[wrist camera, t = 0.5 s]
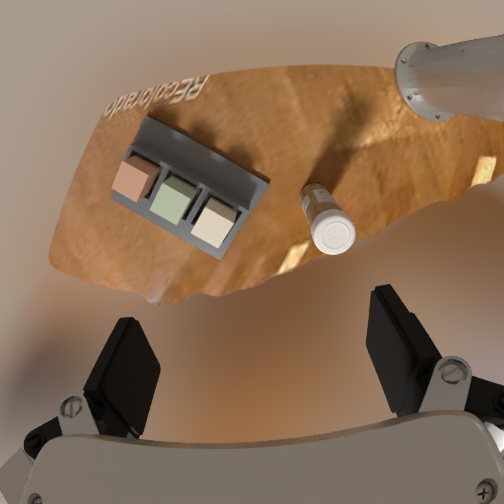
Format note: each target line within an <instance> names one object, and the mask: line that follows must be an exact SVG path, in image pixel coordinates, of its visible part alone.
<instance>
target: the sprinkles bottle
mask: <svg viewBox="0 0 504 504" xmlns="http://www.w3.org/2000/svg"><path fill="white" fill-rule="evenodd" d="M299 201H300V205H301V206H302V208H303V211H304V213H305V216H306V218H307V221H308V223H309V225H310V227H311V234H312V238H313V240H314V243H315V245H316V246H317V248H318V249H319V250H320V251H322V252H324V253H326V254H331V255H335V254H340V253H342V252H344V251H346V250H347V249H348V248H349V247H350V246H351V245H352V243H353V242H354V239H355V234H356V231H355V226H354V224H353V222H352V221H351V219H350V218H349V217H348V215H347V214H346V213H344V212H343V211H342V209H341V207H340V206H339V205H338V203H337V202H336V201H335V200H334V198H333V197H332V196H331V194H330V193H329V191H328V190H327V189H326V188H325V187H324V186H323V185H321V184H318V183H312V184H309V185H307V186H305V187H304V188H303V189H302V191H301V193H300V196H299Z"/></svg>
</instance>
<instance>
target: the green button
mask: <svg viewBox="0 0 504 504" xmlns="http://www.w3.org/2000/svg"><path fill="white" fill-rule="evenodd" d="M197 191H198V188H196V187H194V186H192V185H190V184H189V183H187V182H185V181H183V180H182V179H180V178H178V177H176V176H174V175H172V176H171V177H169V178H168V179H167V180H166V181H164V182H163V183H162V185H161V187H160V189H159V191H158V193H157V195H156V197H155V199H154V202H153V204H152V206H151V208H150V211H152V212H154V213H156V214H158V215H159V216H161V217H163V218H165V219H166V220H168V221H170V222H172V223H173V224H175V225H177V224H178V223H179V221H180V220H181V218H182V217H183V216H184V214H185V213H186V211H187V209H188V207H189V205H190V203H191V202H192V200H193V198H194V196H195V194H196V193H197Z"/></svg>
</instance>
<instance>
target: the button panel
mask: <svg viewBox="0 0 504 504" xmlns="http://www.w3.org/2000/svg"><path fill="white" fill-rule="evenodd" d="M135 155H138V156H140V157H142V158H143V159H145V160H147V161H149V162H151V163H153V164H154V165H156V166H158V167H160V170H159V172H158V174H157V176H156V178H155V181H154V183H153V185H152V187H151V189H150V191H149V193H148V194H146V195H145V196H144V197H143V198H141V199H140V200H139V201H138V202H137V203H136V202H135V201H133V200H131V199H129V198H128V197H126V196H124V195H122V194H121V193H119V192H117V191H115V190H114V189H113V192H112V194H111V197H110V198H111V199H113V200H115V201H116V202H118V203H120V204H121V205H123V206H125V207H127V208H128V209H130V210H132V211H133V212H135V213H137V214H139V215H140V216H142V217H144V218H146V219H147V220H149V221H151V222H153V223H154V224H156V225H158V226H160V227H162V228H163V229H165V230H167V231H169V232H170V233H172V234H174V235H176V236H177V237H179V238H181V239H183V240H185V241H186V242H188V243H190V244H192V245H194V246H195V247H197V248H199V249H201V250H203V251H204V252H206V253H208V254H210V255H212V256H213V257H215V258H217V259H219V260H220V259H221V258H222V256H223V254H224V253H225V251H226V250H227V248H228V247H229V245H230V244H231V242H232V241H233V239H234V237H235V236H236V234H237V233H238V231H239V230H240V228H241V227H242V225H243V224H244V222H245V221H246V219H247V218H248V216H249V215H250V213H251V212H252V210H253V209H254V207H255V206H256V204H257V203H258V201H259V200H260V198H261V197H262V195H263V194H264V192H265V191H266V189H267V188H268V186H269V183H267V182H266V181H264V180H263V179H261V178H259V177H258V176H256V175H254V174H253V173H251V172H249V171H248V170H246V169H244V168H243V167H241V166H239V165H237V164H236V163H234V162H232V161H231V160H229V159H227V158H225V157H224V156H222V155H220V154H218V153H217V152H215V151H213V150H211V149H210V148H208V147H206V146H204V145H202V144H201V143H199V142H197V141H195V140H193V139H192V138H190V137H188V136H186V135H184V134H182V133H180V132H179V131H177V130H175V129H173V128H171V127H169V126H167V125H165V124H163V123H161V122H159V121H157V120H156V119H154V118H152V117H150V116H146V117H145V119H144V121H143V123H142V125H141V127H140V129H139V131H138V133H137V135H136V138H135V140H134V142H133V144H130V146H129V149H128V151H127V153H126V155H125V158H124V160H126V159H128V158H130V157H133V156H135ZM172 175H174V176H176V177H178V178H180V179H182V180H183V181H185V182H187V183H189V184H190V185H192V186H194V187H196V188H198V191H197V193H196V194H195V196H194V198H193V200H192V202H191V203H190V205H189V207H188V209H187V211H186V213H185V214H184V216H183V217H182V218H181V220H180V221H179V223H178V224H177V225H175V224H173V223H172V222H170V221H168V220H166V219H165V218H163V217H161V216H159V215H158V214H156V213H154V212H152V211H150V208H151V206H152V204H153V202H154V199H155V197H156V195H157V193H158V191H159V189H160V187H161V185H162V183H163V182H164V181H166V180H167V179H168V178H169V177H171V176H172ZM211 196H212V197H213V198H215V199H217V200H219V201H220V202H222V203H224V204H226V205H227V206H229V207H231V208H232V209H234V210H236V211H237V213H236V217H235V221H234V224H233V226H232V227H231V229H230V230H229V232H228V234H227V235H226V237H225V238H224V240H223V241H222V243H221V245H220V246H219V248H216V247H215V246H213V245H211V244H209V243H207V242H206V241H204V240H202V239H200V238H198V237H197V236H195V235H193V234H191V231H192V229H193V227H194V226H195V224H196V222H197V220H198V219H199V217H200V215H201V213H202V212H203V210H204V208H205V206H206V205H207V203H208V201H209V199H210V198H211Z"/></svg>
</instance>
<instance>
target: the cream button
mask: <svg viewBox="0 0 504 504" xmlns="http://www.w3.org/2000/svg"><path fill="white" fill-rule="evenodd" d="M236 213H237V211H236V210H234V209H232V208H231V207H229V206H227V205H226V204H224V203H222V202H220V201H219V200H217V199H215V198H213V197H212V196H211V198H210V199H209V201H208V203H207V205H206V206H205V208H204V210H203V212H202V213H201V215H200V217H199V219H198V220H197V222H196V224H195V226H194V227H193V229H192V231H191V234H193V235H195V236H197V237H198V238H200V239H202V240H204V241H206V242H207V243H209V244H211V245H213V246H215V247H216V248H219V246H220V245H221V243H222V241H223V240H224V238H225V237H226V235H227V234H228V232H229V230H230V229H231V227H232V226H233V224H234V221H235V217H236Z"/></svg>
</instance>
